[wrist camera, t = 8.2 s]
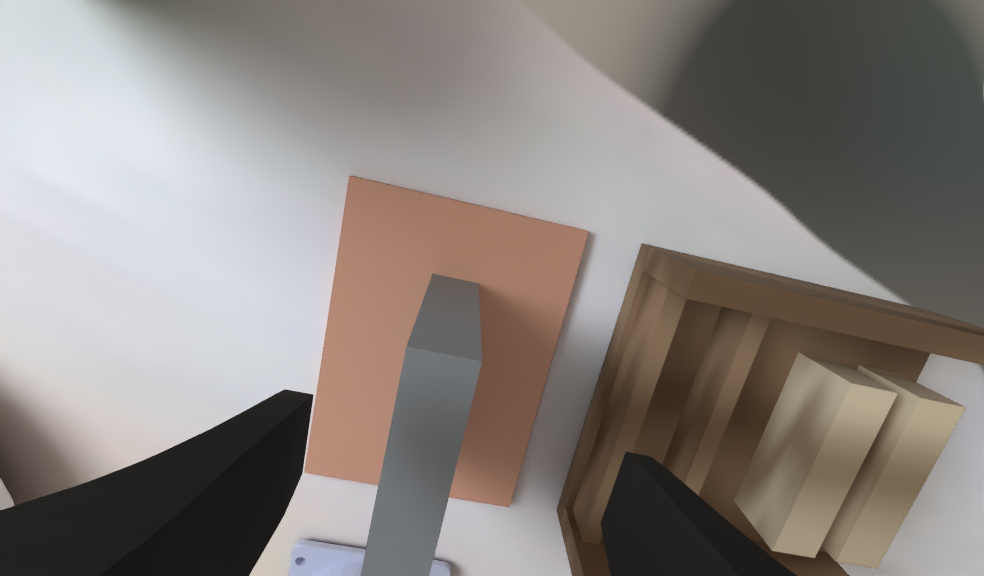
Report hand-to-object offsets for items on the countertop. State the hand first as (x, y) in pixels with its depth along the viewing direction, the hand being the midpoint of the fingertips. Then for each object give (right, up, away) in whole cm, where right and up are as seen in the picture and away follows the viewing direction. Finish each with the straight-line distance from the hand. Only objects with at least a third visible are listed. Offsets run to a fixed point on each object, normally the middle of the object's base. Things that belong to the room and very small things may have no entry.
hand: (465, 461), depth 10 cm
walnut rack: (+12, -2, +12) cm, 17 cm away
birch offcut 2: (+17, -4, +12) cm, 21 cm away
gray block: (-2, +1, +10) cm, 10 cm away
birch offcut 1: (+14, -3, +11) cm, 18 cm away
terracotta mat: (-2, +1, +11) cm, 11 cm away
